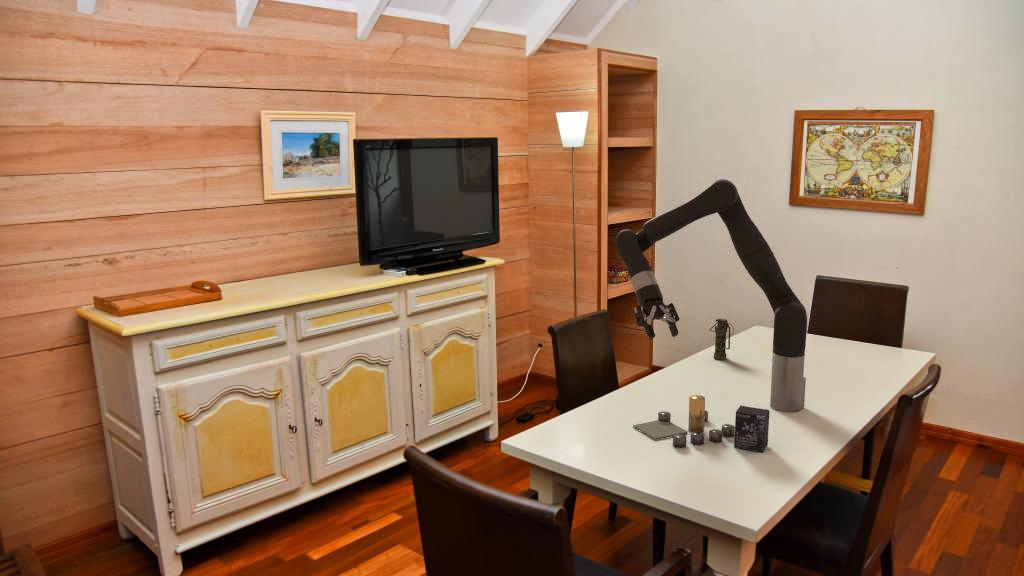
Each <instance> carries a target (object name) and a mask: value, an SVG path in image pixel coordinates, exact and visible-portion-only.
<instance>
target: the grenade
mask: <svg viewBox="0 0 1024 576" xmlns="http://www.w3.org/2000/svg"><path fill="white" fill-rule="evenodd" d="M714 321H715V322H716V323H714V325H713V326H711V327H710V328H709V331H710V332H712V333H715V337H714V340H715V341H714V347H715V348H714V352H713V358H714V360H717V361H724V360H727V353H726V350H730V348H731V336H733V334H734V331H735V329H734V326H733V325H732V324H731V323H729V322H728V320H727V319H725V318H717V319H715V320H714ZM730 326H731V327H732V330H733V331H732V333H731V327H730ZM713 328H714V330H712V329H713ZM727 332H728V339H727ZM727 340H728V342H727ZM726 342H727V343H728V346H726V345H727V343H726Z"/></svg>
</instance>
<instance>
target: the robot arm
mask: <svg viewBox="0 0 1024 576" xmlns="http://www.w3.org/2000/svg"><path fill="white" fill-rule="evenodd" d="M738 191H739V190H738V189H737V187H736V185H735V184H734V182H732V181H731V180H728V179H723V178H722V179H717V180H715V181H713V182H711V183H710V184H709V185H708V187H707V188H706V189H704V190H703V191H702V192H700V193H698V195H697V196H695V197H693V198H692V199H691V200H688V201H687V202H684V203H683V204H680V205H678V206H675V207H674V208H671V209H669V210H667V211H664V212H663V213H661V214H658V215H657V216H655V217H653V218H652V219H649V220H647V221H646V222H645V223H644V224H643V226H642V229H641V230H639V231H638V232H636V233H635V232H634V231H633V230H630V229H623V230H620V231H619V232H618V233H617V235H616V237H615V247H616V249H617V251H618V254H619V255H620V258H621V260H622V261H623V263H624V265H625V267H626V269H627V272H628V276H629V278H630V281H631V285H632V288H633V289H632V290H633V291H634V293H635V298H636V300H637V303H638V304H637V305H636V306H635V307H634V308H633V309H632V311H633V314H634V317H635V321H636V324H637V327H643V328H644V329H645V332H646V333H645V334H646V335H647V337H648V338H649V339H650V340H652V339H654V338H655V337H656V333H655V330H654V327H653V325H652V321H655V320H657V321H658V320H660V321H662V322H663V323H665V324H667V326H668V329H669V332H670V335H671V337H672V338H675V337H677V336H678V335H679V330H678V327H677V324H676V323H678V321H680V316H679V314H678V312H677V310H676V308H675V305H674V303H672V302H670V303H669V304H665V302H664V298H663V297H664V296H663V294H662V291H661V288H660V285H659V283H658V280H657V278H656V276H655V274H654V272H653V270H652V267H651V264H650V262H649V260H648V259H647V257H646V256H645V255H644V252H646V251H648V250H649V249H650V248H651V247H652V246H654V244H656V243H657V242H659V241H661V240H663V239H665V238H666V237H667V238H668V237H669V236H671V235H673V234H675V233H676V232H678V231H680V230H681V229H684V228H685V227H687V226H688V225H690V224H693V223H694V222H695V221H698V220H700V219H703V218H705V217H708V216H710V215H714V214H718V215H719V217H720V219H721V220H722V222H723V223H724V225H725V226H726V228H727V231H728V233H729V236H730V239H731V242H732V245H733V248H734V251H735V252H736V254H737V256H738V258H739V260H740V262H741V263H742V265H743V268H744V269H745V270H746V272H747V273H748V275H749V277H751V278H752V280H753V281H754V282H755V283H756V284H757V285H758V287H759V288H760V289H761V290H762V291H763V293H764V295H765V297H766V299H767V301H768V303H769V304H770V306H771V309H772V312H773V314H774V317H773V318H774V319H773V338H772V359H771V361H772V362H771V376H770V377H771V383H770V402H769V404H770V405H769V406H770V408H772V409H773V410H776V411H779V412H785V413H786V412H787V413H788V412H791V413H793V412H799V411H801V410H802V408H805V401H806V383H807V379H806V377H805V376H804V375H805V374H804V373H805V356H806V347H807V346H806V345H807V344H806V343H807V330H808V329H807V328H808V313H807V310H806V308H805V306H804V304H803V303H802V301H801V300H800V299H799V298H798V296H797V295H796V293H794V291H793V289H792V288H791V286H790V285H789V284H788V282H787V279H786V278H785V276H784V273H783V271H782V268H781V267H780V264H779V262H778V260H777V258H776V256H775V254H774V252H773V251H772V249H771V247H770V245H769V244H768V242H767V240H766V239H765V237H764V235H763V234H762V233H761V231H760V230H759V228H758V227H757V225H756V223H754V221H753V220H752V218H751V217H750V215H749V214H748V212H747V209H746V207H745V205H744V203H743V200H742V199H741V197H740V194H739V192H738Z"/></svg>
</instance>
